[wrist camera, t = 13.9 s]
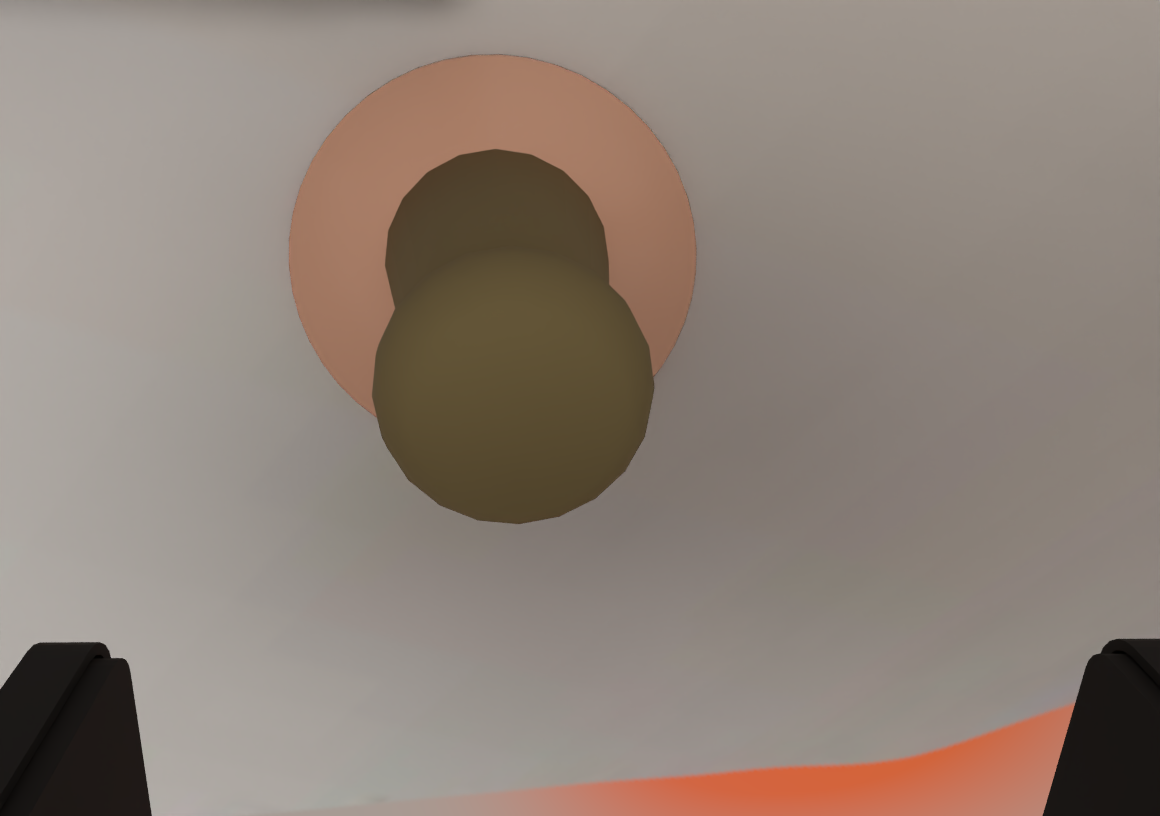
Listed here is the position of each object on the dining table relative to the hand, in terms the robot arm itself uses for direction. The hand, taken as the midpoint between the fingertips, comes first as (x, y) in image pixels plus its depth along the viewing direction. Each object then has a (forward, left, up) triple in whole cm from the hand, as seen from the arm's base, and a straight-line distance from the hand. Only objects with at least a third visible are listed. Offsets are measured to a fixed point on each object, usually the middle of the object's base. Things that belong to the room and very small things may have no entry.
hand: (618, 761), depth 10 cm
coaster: (+1, 0, -20) cm, 20 cm away
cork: (+1, 0, -19) cm, 19 cm away
